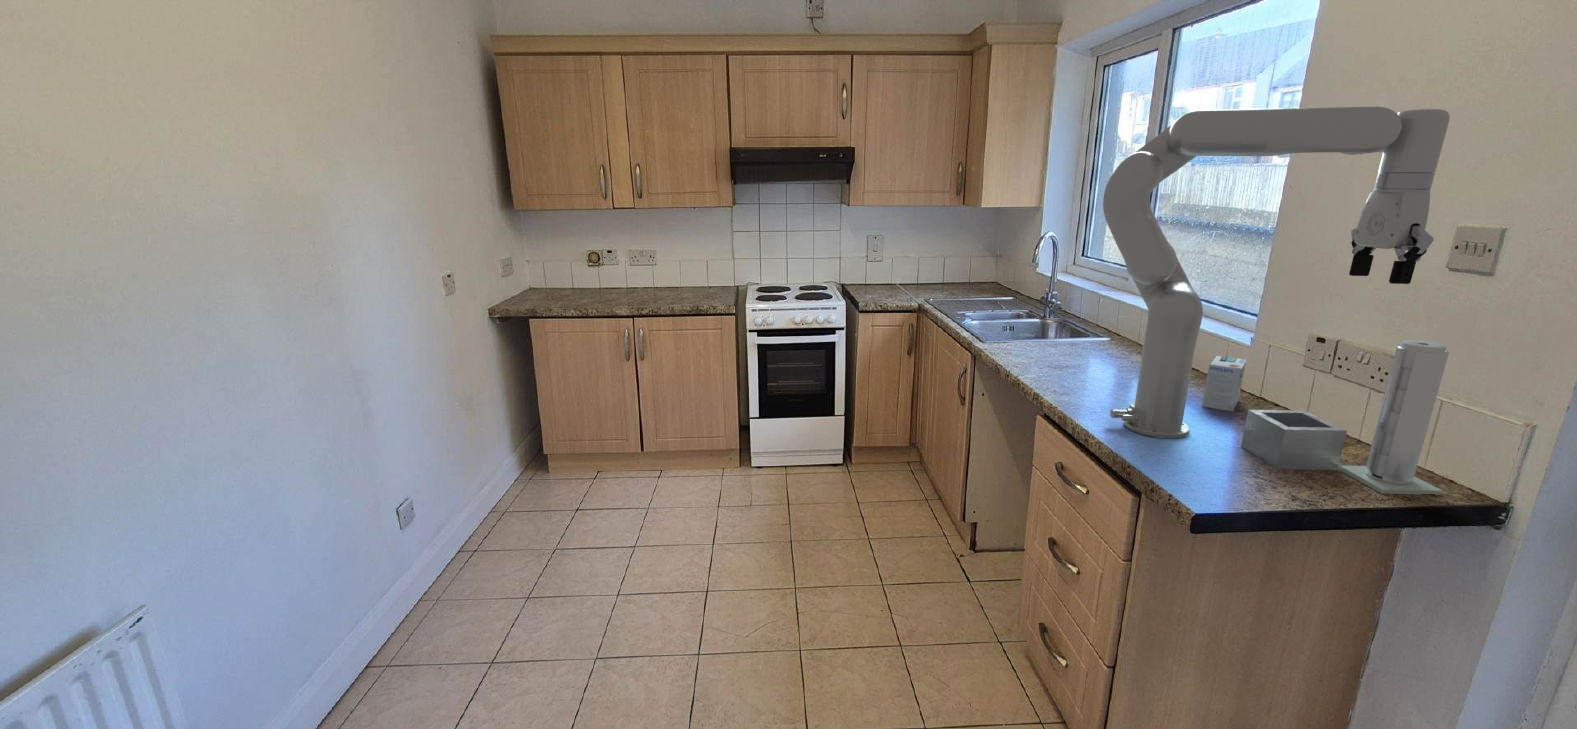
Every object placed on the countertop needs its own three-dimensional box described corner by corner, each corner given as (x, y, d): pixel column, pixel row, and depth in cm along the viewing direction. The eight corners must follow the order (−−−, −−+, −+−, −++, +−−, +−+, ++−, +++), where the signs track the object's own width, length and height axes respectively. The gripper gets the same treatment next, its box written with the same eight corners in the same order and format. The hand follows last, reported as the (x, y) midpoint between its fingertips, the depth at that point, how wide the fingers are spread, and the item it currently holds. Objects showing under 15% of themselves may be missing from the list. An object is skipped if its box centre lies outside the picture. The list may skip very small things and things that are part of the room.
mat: (1381, 493, 113) (1382, 489, 113) (1338, 469, 123) (1338, 465, 123) (1441, 494, 113) (1443, 490, 112) (1393, 470, 122) (1394, 466, 122)
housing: (1276, 469, 123) (1285, 429, 121) (1240, 446, 134) (1248, 409, 131) (1337, 470, 122) (1347, 430, 120) (1296, 447, 133) (1304, 410, 131)
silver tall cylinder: (1421, 486, 114) (1461, 348, 107) (1379, 483, 115) (1415, 346, 108) (1396, 470, 120) (1432, 339, 113) (1356, 468, 121) (1389, 337, 115)
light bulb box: (1207, 395, 165) (1214, 354, 163) (1239, 400, 161) (1247, 359, 158) (1200, 406, 157) (1208, 363, 155) (1234, 412, 153) (1242, 368, 150)
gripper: (1345, 183, 125) (1324, 272, 129) (1420, 184, 108) (1393, 286, 113) (1387, 183, 124) (1364, 273, 129) (1469, 184, 107) (1440, 287, 112)
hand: (1378, 279), depth 121 cm, fingers open, 9 cm apart
